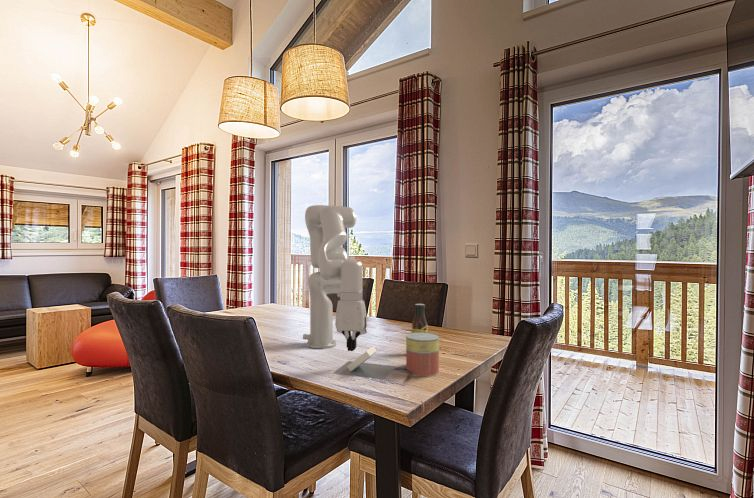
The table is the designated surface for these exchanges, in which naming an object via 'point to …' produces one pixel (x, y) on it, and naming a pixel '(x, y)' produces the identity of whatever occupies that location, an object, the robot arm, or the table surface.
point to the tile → (362, 359)
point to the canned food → (422, 354)
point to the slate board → (366, 370)
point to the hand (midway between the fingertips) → (351, 350)
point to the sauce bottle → (419, 320)
